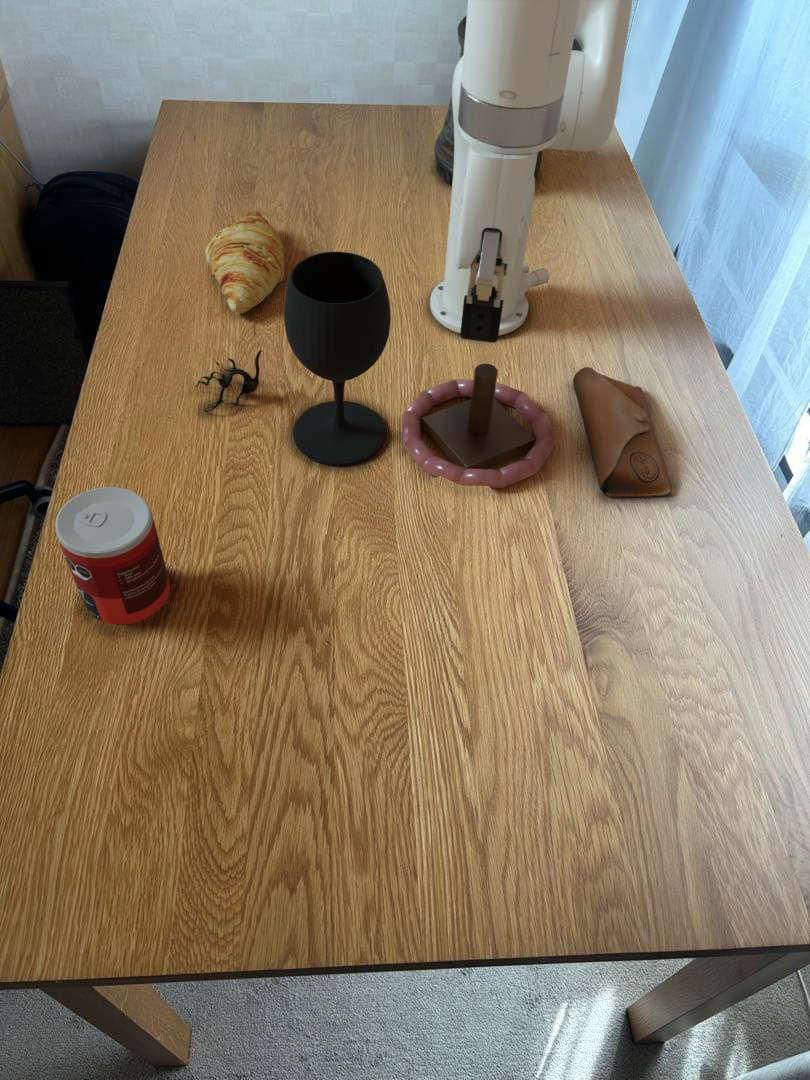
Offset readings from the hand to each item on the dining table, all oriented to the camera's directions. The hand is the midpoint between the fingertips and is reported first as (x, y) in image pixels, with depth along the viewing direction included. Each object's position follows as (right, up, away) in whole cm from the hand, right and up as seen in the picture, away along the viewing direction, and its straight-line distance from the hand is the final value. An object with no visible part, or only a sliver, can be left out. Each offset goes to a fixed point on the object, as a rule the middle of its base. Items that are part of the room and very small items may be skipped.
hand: (484, 304), depth 80 cm
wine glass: (-14, -9, +20) cm, 27 cm away
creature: (-27, -4, +24) cm, 37 cm away
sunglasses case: (+17, -10, +22) cm, 29 cm away
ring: (+1, -9, +20) cm, 22 cm away
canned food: (-33, -26, +5) cm, 42 cm away
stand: (+1, -10, +21) cm, 23 cm away
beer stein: (+7, +36, +60) cm, 70 cm away
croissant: (-28, +14, +39) cm, 50 cm away
